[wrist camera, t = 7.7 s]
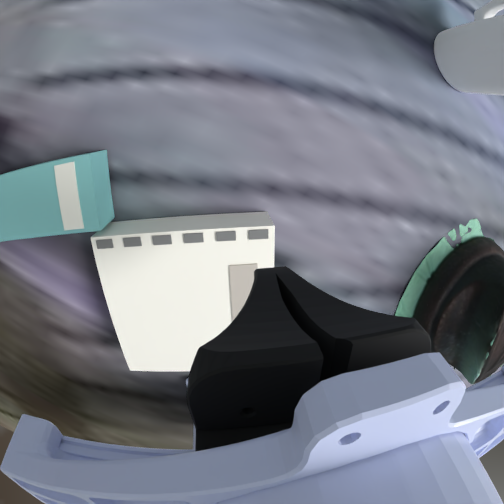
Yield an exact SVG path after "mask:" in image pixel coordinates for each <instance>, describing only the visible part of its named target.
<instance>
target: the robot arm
mask: <svg viewBox="0 0 504 504" xmlns="http://www.w3.org/2000/svg"><path fill="white" fill-rule="evenodd" d="M430 350H431V339H430V336H429V334H428V333H427V332H426V331H425V329H424V328H423V327H422V326H421V325H420V324H419V322H418V321H417V320H416V319H415V318H410V317H401V316H393V315H387V314H382V313H378V312H373V311H370V310H366V309H363V308H360V307H357V306H354V305H351V304H348V303H346V302H344V301H341V300H339V299H337V298H335V297H333V296H331V295H329V294H327V293H325V292H323V291H322V290H320V289H318V288H317V287H315V286H313V285H312V284H310V283H309V282H307V281H306V280H304V279H303V278H302V277H300V276H299V275H297V274H296V273H295V272H293V271H292V270H290V269H289V268H287V267H286V266H285V267H273V268H260V269H256V270H255V271H254V282H253V285H252V288H251V291H250V294H249V296H248V298H247V300H246V302H245V304H244V306H243V307H242V309H241V311H240V312H239V314H238V315H237V316H236V317H235V319H234V320H233V321H232V322H231V324H230V325H229V326H228V327H227V328H226V329H225V330H223V331H222V332H221V333H220V334H219V335H218V336H216V337H215V338H214V339H212V340H210V341H209V342H207V343H206V344H204V345H202V346H201V347H199V349H198V351H197V353H196V356H195V358H194V361H193V364H192V366H191V370H190V374H189V378H187V379H186V386H187V404H188V407H189V411H190V414H191V417H192V420H193V423H194V427H193V450H179V449H155V448H141V447H130V446H121V445H113V444H106V443H99V442H93V441H87V440H81V439H76V438H71V437H67V436H62V434H61V432H60V431H59V429H58V428H57V427H56V426H55V425H54V424H53V423H51V422H49V421H47V420H45V419H41V418H37V417H33V416H29V415H26V414H22V416H21V418H20V420H19V423H18V425H17V427H16V429H15V432H14V434H13V436H12V439H11V441H10V444H9V446H8V448H7V451H6V454H5V456H4V459H3V462H2V464H1V467H0V468H1V471H2V472H3V473H4V474H6V475H7V476H8V477H9V478H10V479H12V480H13V481H14V482H15V483H17V484H18V485H19V486H21V487H22V488H23V489H25V490H26V491H27V492H29V493H30V494H31V495H33V496H34V497H36V498H37V499H39V500H40V501H41V502H43V503H45V504H503V502H502V500H501V498H500V496H499V495H498V493H497V491H496V489H495V487H494V485H493V483H492V481H491V480H490V478H489V476H488V474H487V472H486V470H485V469H484V467H483V465H482V463H481V462H480V460H479V458H480V457H481V456H482V455H484V454H485V453H486V452H488V451H489V450H490V449H492V448H493V447H494V446H496V445H497V444H498V443H499V442H501V441H502V440H503V439H504V364H503V366H502V369H501V370H500V371H499V372H497V373H495V374H493V375H492V376H490V377H488V378H486V379H484V380H482V381H480V382H478V383H476V384H474V385H472V386H470V387H468V388H466V386H465V385H464V383H463V382H462V380H461V379H460V378H459V377H458V375H457V374H456V373H455V371H454V370H453V369H452V368H451V366H450V365H449V364H448V362H447V361H446V360H445V359H444V357H443V356H442V355H441V354H440V352H438V353H430Z"/></svg>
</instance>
